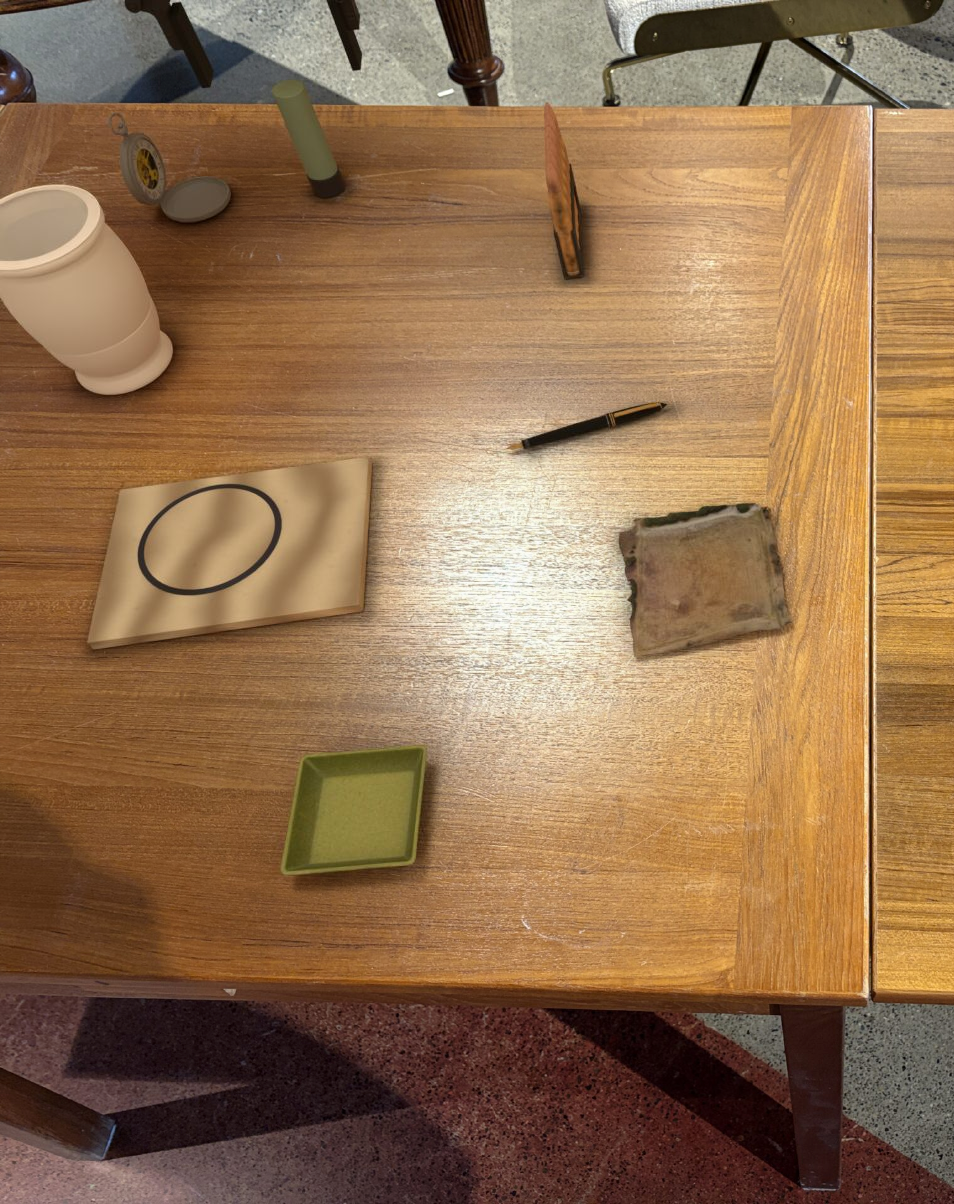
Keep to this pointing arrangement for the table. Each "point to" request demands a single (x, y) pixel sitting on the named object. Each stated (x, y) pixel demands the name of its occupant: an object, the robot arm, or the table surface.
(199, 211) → the pocket watch
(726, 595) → the parchment
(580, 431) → the fountain pen
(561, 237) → the brown thin upright slab
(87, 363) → the jar
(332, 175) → the marker
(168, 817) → the table surface
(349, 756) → the olive green square tray
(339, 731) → the table surface
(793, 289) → the table surface
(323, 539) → the sketch board
